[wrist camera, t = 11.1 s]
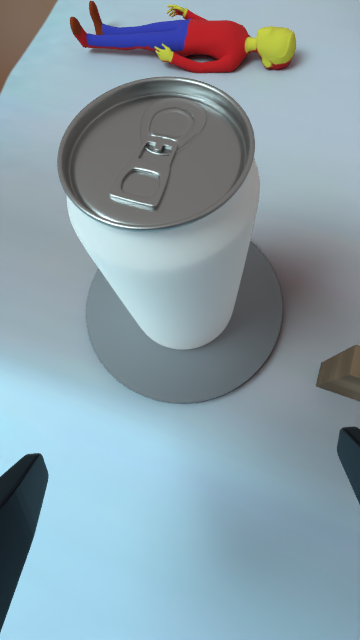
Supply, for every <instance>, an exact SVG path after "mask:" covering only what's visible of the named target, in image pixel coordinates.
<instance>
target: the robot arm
mask: <svg viewBox="0 0 360 640" xmlns="http://www.w3.org/2000/svg"><path fill="white" fill-rule="evenodd" d="M337 453H338V456H339V459H340V461H341V463H342V466H343V468H344V470H345V472H346V475H347V477H348V479H349V481H350V484H351V486H352V488H353V490H354V493H355V495H356V497H357V499H358V502H359V504H360V429H359V428H357V427H344V428H342V429H341V430H340V433H339V439H338V445H337ZM47 483H48V471H47V468H46V465H45V462H44V459H43V456H42V455H41V454H40V453H35V454H27V455H25V456H24V457H22V458H21V459H20V460H19V461H18V462H17V463H16V464H14V465H13V466H12V467H11V468H10V469H9V470H8V471H6V472H5V473H4V474H3V475H2V476H1V477H0V632H1V629H2V626H3V623H4V621H5V618H6V615H7V612H8V609H9V606H10V604H11V601H12V598H13V595H14V592H15V589H16V587H17V584H18V581H19V578H20V575H21V572H22V569H23V567H24V564H25V561H26V558H27V555H28V552H29V550H30V547H31V544H32V541H33V538H34V534H35V531H36V527H37V523H38V519H39V515H40V511H41V507H42V503H43V499H44V495H45V491H46V487H47Z"/></svg>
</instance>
